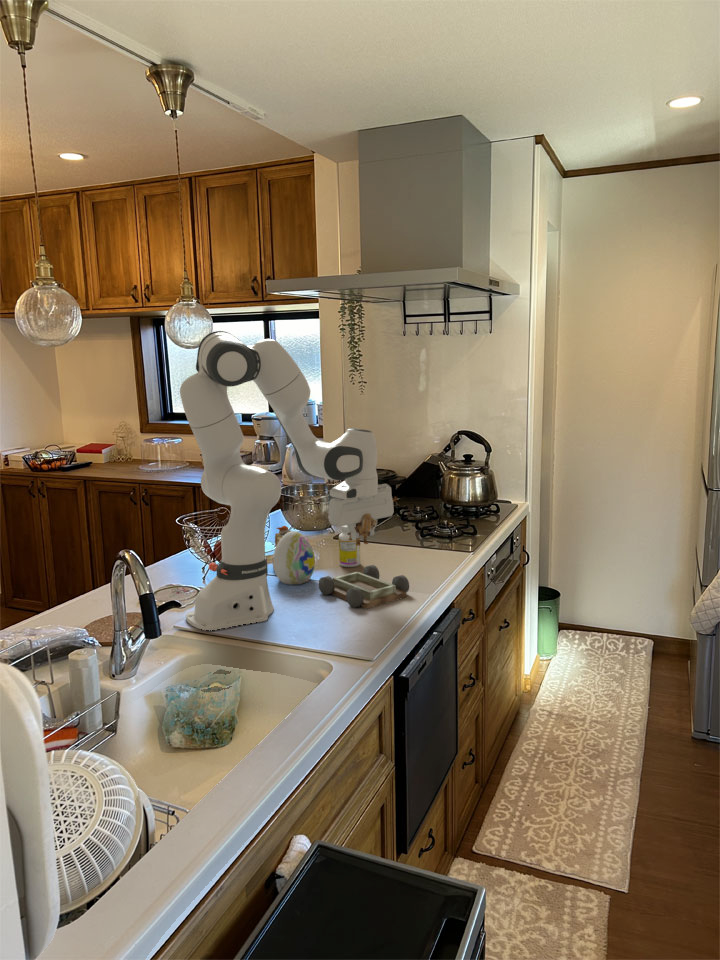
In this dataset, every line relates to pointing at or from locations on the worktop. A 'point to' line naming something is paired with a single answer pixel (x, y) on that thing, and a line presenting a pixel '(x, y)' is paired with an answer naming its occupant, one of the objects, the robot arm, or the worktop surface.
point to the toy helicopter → (280, 534)
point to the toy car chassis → (364, 588)
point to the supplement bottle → (348, 549)
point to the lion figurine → (364, 528)
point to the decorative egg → (293, 559)
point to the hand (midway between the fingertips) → (362, 537)
